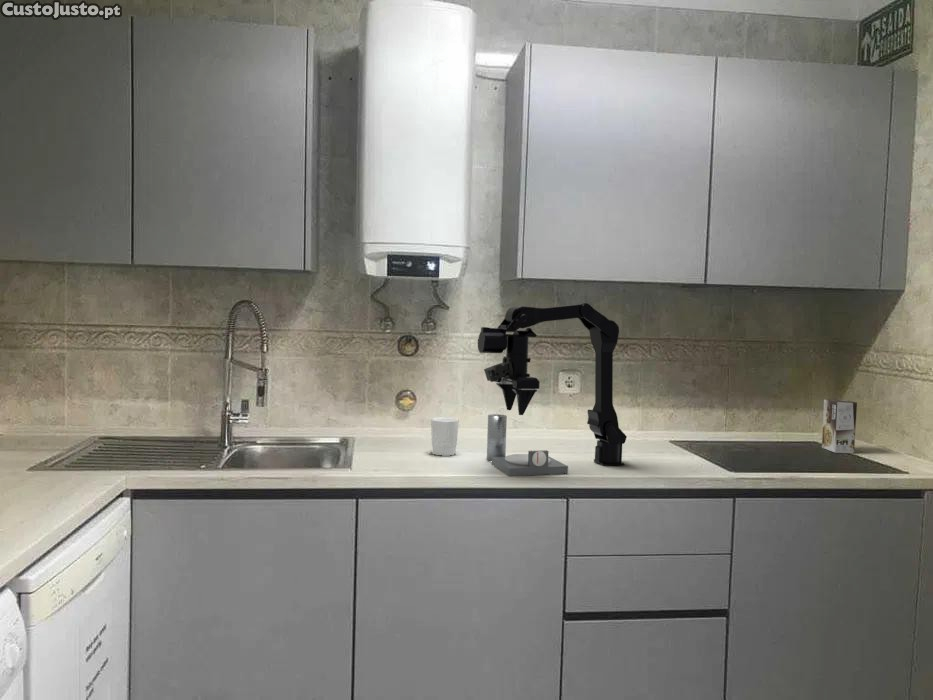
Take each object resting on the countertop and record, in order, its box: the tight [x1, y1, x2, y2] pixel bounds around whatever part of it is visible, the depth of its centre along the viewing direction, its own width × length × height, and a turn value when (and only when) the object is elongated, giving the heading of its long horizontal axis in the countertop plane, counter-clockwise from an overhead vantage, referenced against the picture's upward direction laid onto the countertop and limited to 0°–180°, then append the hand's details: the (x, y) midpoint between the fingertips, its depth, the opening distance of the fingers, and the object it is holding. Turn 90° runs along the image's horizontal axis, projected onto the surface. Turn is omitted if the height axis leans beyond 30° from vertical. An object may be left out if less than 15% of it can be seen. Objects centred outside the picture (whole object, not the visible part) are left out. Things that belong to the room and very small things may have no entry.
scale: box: [491, 449, 569, 477], centre depth 192 cm, size 16×14×6 cm
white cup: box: [430, 416, 460, 457], centre depth 209 cm, size 8×8×10 cm
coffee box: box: [821, 398, 858, 454], centre depth 232 cm, size 9×6×16 cm
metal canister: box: [486, 413, 508, 462], centre depth 202 cm, size 5×5×13 cm
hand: (514, 412), depth 193 cm, fingers open, 9 cm apart
